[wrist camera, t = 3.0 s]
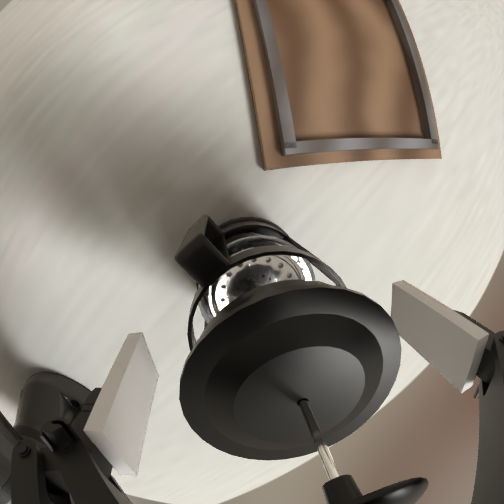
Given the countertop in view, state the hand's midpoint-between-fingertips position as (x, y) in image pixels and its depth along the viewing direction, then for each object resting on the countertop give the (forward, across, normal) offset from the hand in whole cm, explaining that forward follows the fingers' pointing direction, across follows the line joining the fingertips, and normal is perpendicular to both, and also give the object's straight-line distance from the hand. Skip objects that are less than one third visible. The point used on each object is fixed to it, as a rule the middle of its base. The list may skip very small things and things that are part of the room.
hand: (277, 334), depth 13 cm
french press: (+13, 0, 0) cm, 13 cm away
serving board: (+13, +12, +19) cm, 26 cm away
